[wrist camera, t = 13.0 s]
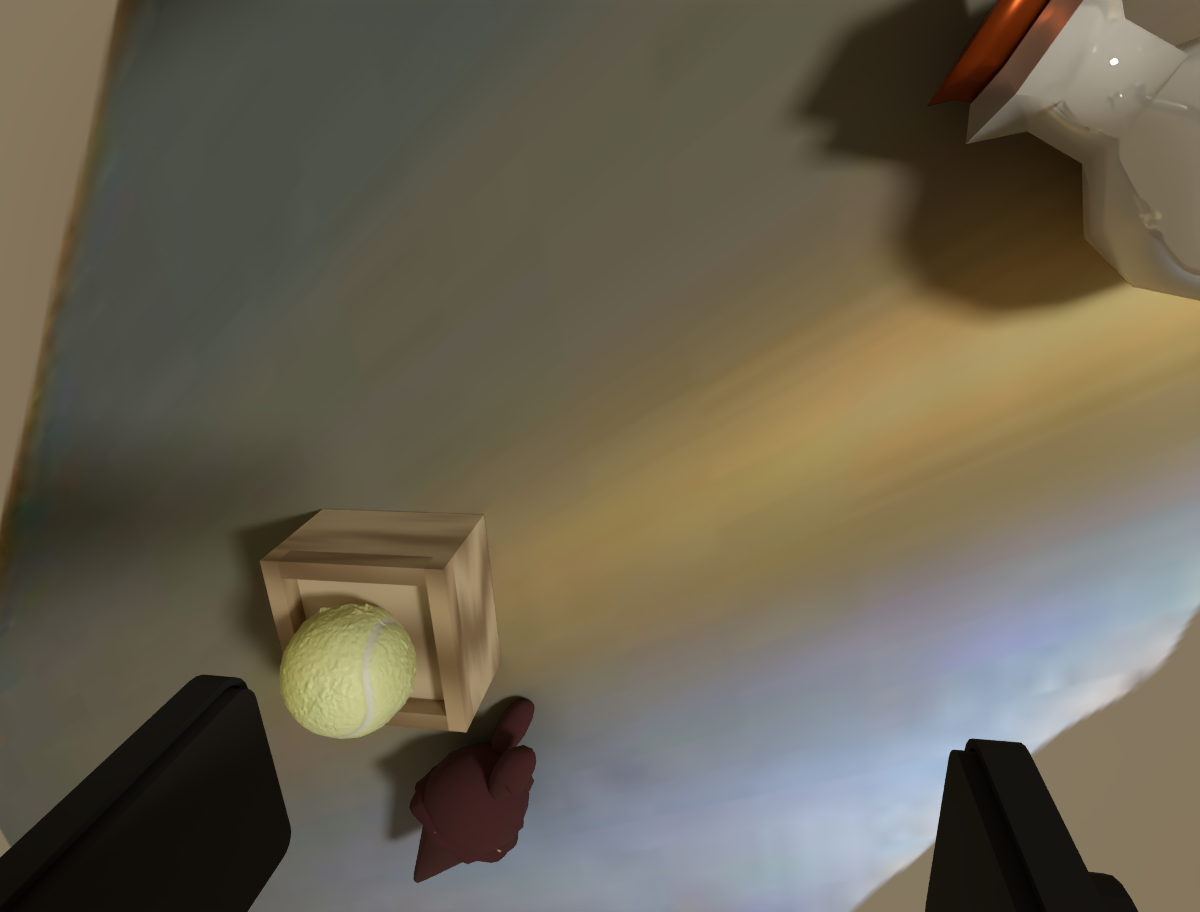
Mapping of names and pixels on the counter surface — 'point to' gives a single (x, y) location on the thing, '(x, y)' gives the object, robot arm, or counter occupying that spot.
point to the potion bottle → (1099, 123)
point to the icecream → (476, 798)
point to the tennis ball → (347, 670)
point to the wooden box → (400, 597)
